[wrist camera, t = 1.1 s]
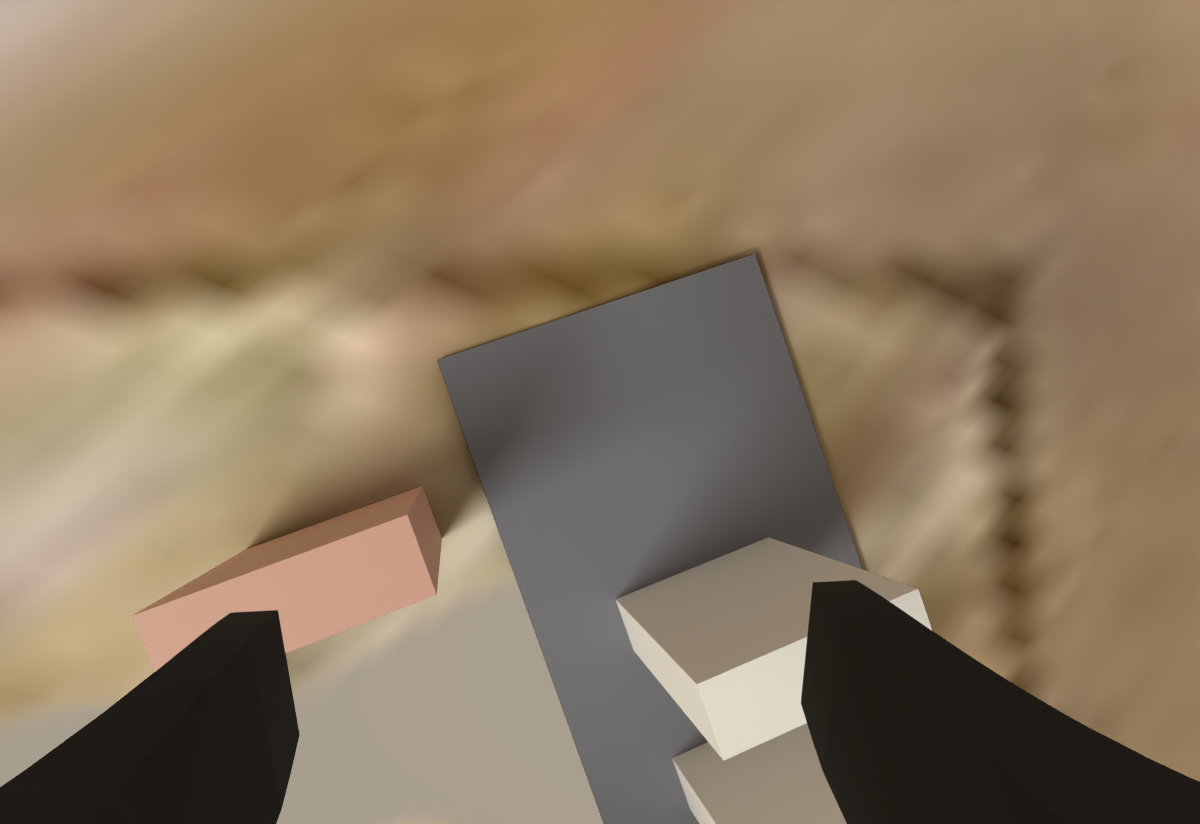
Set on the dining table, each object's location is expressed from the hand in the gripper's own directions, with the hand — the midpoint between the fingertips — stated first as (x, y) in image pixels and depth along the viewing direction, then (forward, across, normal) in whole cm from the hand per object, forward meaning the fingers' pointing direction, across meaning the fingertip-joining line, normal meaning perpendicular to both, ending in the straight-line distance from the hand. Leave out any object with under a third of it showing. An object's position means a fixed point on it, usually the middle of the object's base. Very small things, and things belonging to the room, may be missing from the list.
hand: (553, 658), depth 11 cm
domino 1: (+11, +6, +4) cm, 13 cm away
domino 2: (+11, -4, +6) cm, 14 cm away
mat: (+10, -6, +11) cm, 16 cm away
